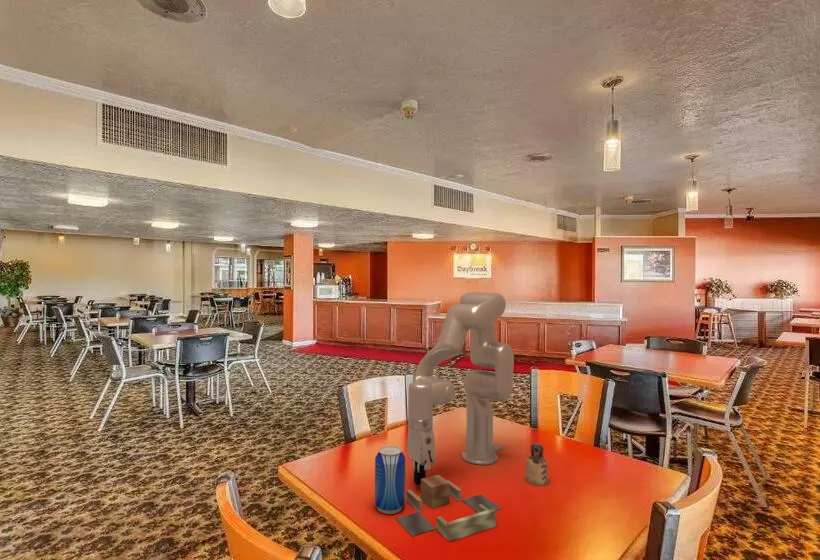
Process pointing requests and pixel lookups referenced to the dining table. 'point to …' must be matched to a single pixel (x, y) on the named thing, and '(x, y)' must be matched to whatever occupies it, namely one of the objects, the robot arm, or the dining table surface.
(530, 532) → the dining table surface
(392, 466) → the beer can
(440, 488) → the walnut block
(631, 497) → the dining table surface
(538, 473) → the figurine
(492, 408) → the robot arm
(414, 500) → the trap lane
